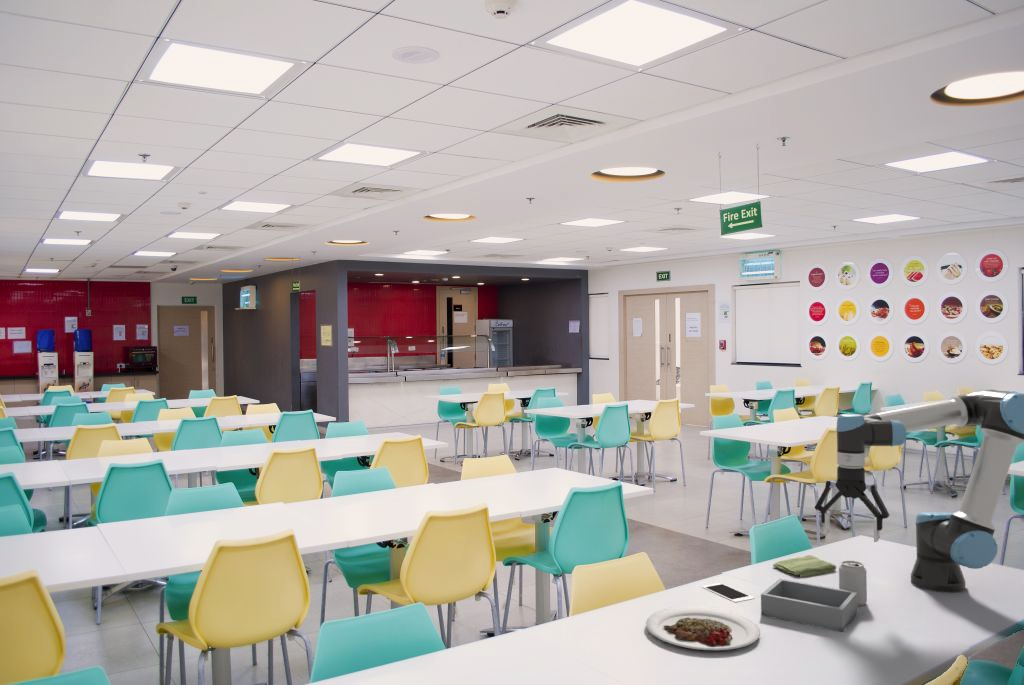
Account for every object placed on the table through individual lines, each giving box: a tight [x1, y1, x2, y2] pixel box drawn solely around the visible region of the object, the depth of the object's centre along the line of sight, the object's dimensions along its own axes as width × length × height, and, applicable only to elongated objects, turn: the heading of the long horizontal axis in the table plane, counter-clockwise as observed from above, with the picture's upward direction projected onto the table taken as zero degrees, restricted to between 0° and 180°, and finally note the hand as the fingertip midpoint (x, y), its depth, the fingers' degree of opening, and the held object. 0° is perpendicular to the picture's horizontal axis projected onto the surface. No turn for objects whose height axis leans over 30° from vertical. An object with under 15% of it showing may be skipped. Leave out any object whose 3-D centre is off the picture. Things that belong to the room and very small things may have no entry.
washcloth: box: [772, 554, 837, 578], centre depth 256 cm, size 13×18×3 cm
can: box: [838, 560, 868, 607], centre depth 223 cm, size 8×8×12 cm
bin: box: [760, 578, 858, 633], centre depth 215 cm, size 22×17×6 cm
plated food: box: [645, 605, 761, 651], centre depth 203 cm, size 30×30×3 cm
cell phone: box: [701, 582, 755, 603], centre depth 234 cm, size 8×16×1 cm, turn 24°
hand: (851, 537), depth 223 cm, fingers open, 13 cm apart
